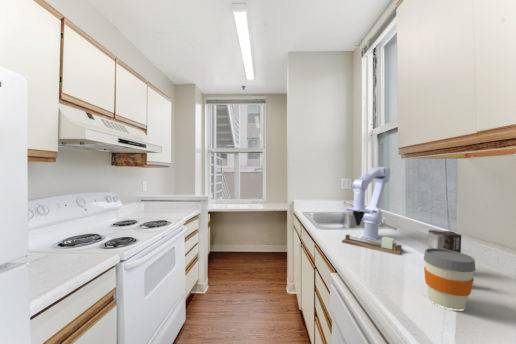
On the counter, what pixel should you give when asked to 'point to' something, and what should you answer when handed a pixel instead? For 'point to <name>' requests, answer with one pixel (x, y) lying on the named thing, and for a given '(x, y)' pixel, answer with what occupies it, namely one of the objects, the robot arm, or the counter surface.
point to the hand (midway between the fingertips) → (358, 225)
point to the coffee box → (444, 240)
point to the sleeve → (387, 242)
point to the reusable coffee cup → (448, 277)
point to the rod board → (372, 244)
